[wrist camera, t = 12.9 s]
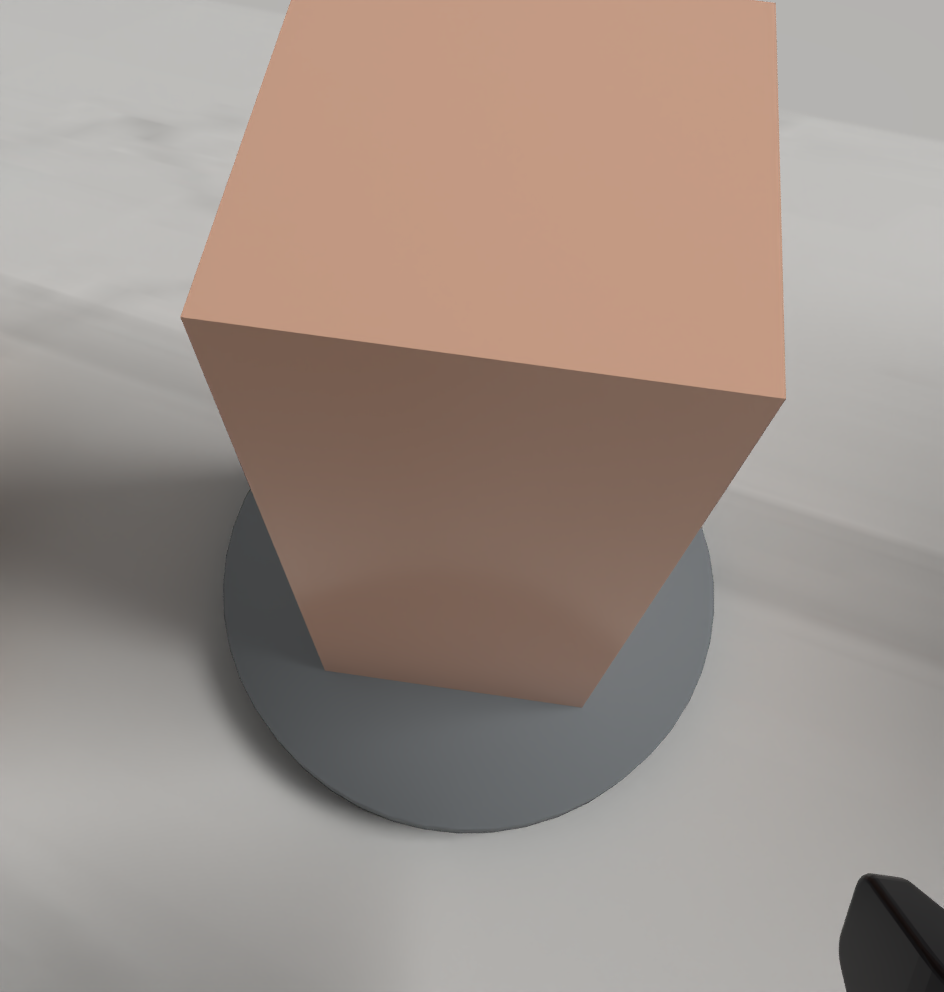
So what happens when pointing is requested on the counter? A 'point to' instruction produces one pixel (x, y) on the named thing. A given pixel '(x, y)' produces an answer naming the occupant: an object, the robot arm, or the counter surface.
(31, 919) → the counter surface
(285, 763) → the counter surface
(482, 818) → the coaster
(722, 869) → the counter surface
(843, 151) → the counter surface
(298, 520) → the tan rectangular block
